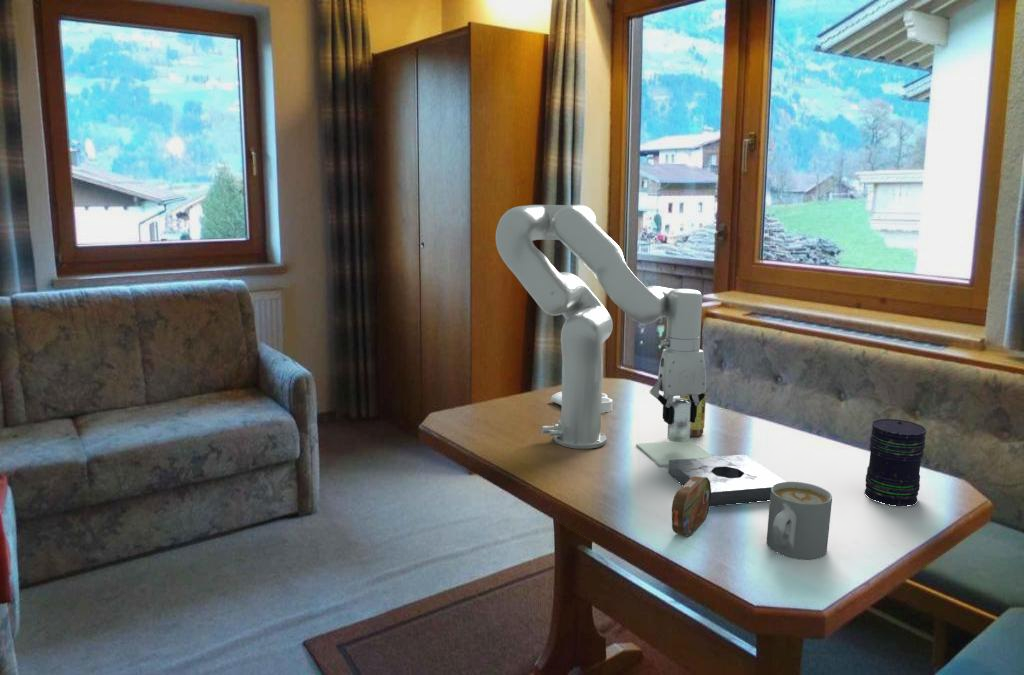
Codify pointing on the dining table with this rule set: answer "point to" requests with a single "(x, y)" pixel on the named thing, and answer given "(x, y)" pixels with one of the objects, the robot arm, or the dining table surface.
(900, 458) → the storage jar
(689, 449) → the sage mat
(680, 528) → the tin
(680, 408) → the aluminium plug
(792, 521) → the coffee mug
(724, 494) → the plate
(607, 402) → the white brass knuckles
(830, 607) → the dining table surface
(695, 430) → the sauce bottle
